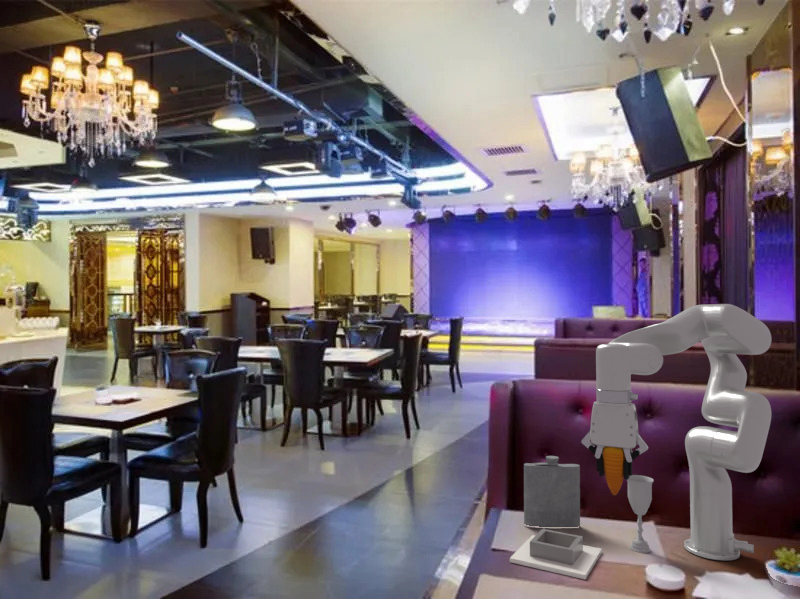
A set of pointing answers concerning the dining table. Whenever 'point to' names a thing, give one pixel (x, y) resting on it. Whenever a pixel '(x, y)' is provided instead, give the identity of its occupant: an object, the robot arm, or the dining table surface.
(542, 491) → the hip flask
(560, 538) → the stand
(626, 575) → the dining table surface
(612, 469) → the carrot
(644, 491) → the chalice
